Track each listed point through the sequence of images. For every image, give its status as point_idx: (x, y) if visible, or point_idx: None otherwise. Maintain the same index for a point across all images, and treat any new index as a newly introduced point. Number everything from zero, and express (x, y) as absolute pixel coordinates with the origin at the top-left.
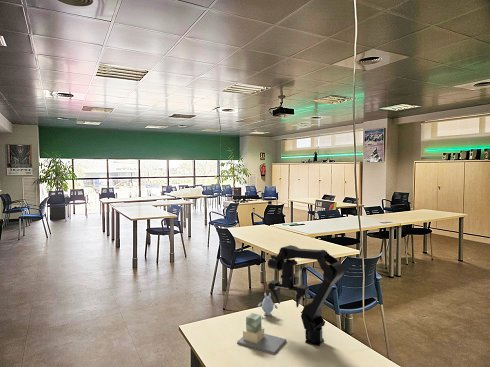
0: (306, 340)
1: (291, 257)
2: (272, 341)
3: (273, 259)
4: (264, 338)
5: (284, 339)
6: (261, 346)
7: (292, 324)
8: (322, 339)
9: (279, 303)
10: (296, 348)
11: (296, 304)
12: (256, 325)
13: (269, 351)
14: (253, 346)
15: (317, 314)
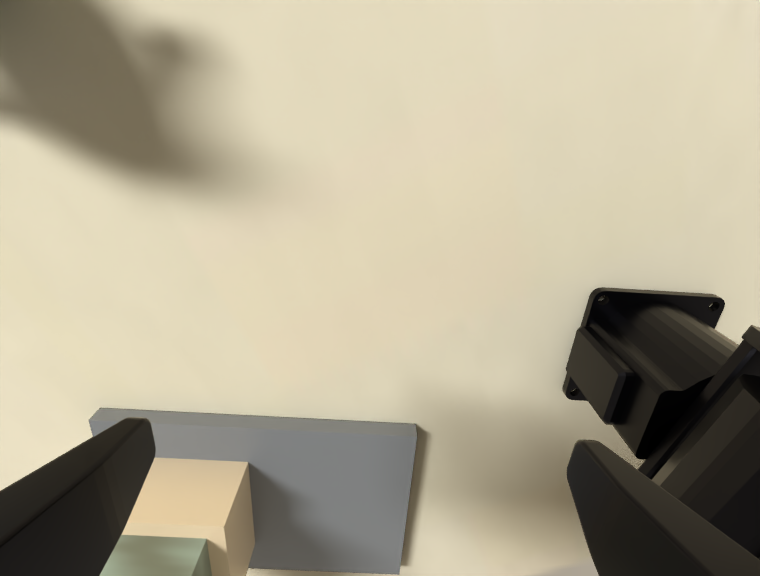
0: (574, 383)
1: None
2: (336, 494)
3: None
4: (264, 481)
5: (407, 444)
6: (299, 556)
7: (365, 110)
8: (713, 320)
9: (153, 451)
10: (511, 470)
11: (603, 569)
12: None
13: (365, 567)
14: (252, 566)
15: None
